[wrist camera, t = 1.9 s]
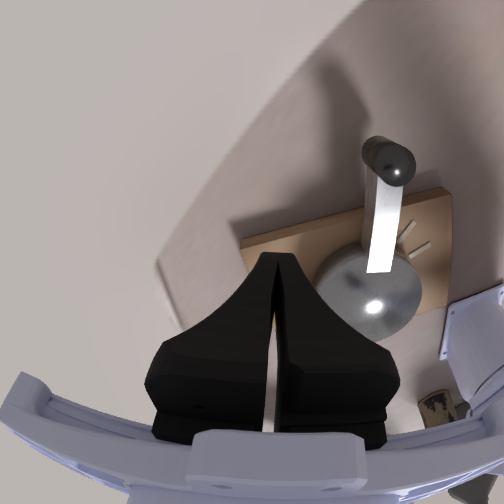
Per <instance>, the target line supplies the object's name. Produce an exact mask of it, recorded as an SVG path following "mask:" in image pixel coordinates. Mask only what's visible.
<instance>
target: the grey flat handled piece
mask: <svg viewBox="0 0 504 504" xmlns="http://www.w3.org/2000/svg"><path fill="white" fill-rule="evenodd" d="M362 159H363V161H364V163H365V164H366V165H367V171H366V189H365V203H364V215H363V226H362V235H361V240H359V241H355V242H352V243H349V244H347V245H345V246H342V247H341V248H339V249H337V250H336V251H335V252H333V253H332V254H331V255H329V256H328V257H327V258H326V259H325V260H324V262H323V263H322V264H321V265H320V267H319V269H318V270H317V272H316V274H315V277H314V280H313V287H314V288H315V290H316V291H317V292H318V294H319V295H320V296H321V297H322V299H323V300H324V301H325V302H326V303H327V304H328V306H329V307H330V308H331V309H332V310H333V311H334V312H335V313H336V314H337V315H338V316H339V317H341V318H342V319H343V320H344V321H345V322H346V323H348V324H349V325H350V326H351V327H353V328H354V329H355V330H356V331H358V332H359V333H361V334H362V335H364V336H365V337H366V338H368V339H369V340H371V341H373V342H377V341H380V340H383V339H385V338H387V337H389V336H391V335H393V334H395V333H396V332H398V331H399V330H400V329H402V328H403V327H404V326H405V325H406V324H407V323H408V322H409V321H410V320H411V319H412V317H413V316H414V315H415V313H416V311H417V309H418V307H419V305H420V302H421V298H422V284H421V281H420V278H419V276H418V274H417V273H416V271H415V269H414V268H413V266H412V265H411V263H410V261H409V260H408V258H407V257H406V255H405V254H404V252H403V251H402V250H401V249H400V248H398V247H397V246H396V245H395V241H396V235H397V229H398V223H399V216H400V209H401V201H402V192H403V186H404V185H406V184H407V183H408V182H410V180H411V179H412V178H413V176H414V174H415V171H416V161H415V158H414V156H413V154H412V153H411V152H410V151H409V150H408V149H407V148H405V147H403V146H401V145H399V144H397V143H395V142H393V141H391V140H389V139H387V138H385V137H383V136H373V137H371V138H369V139H368V140H367V141H366V142H365V143H364V145H363V147H362Z"/></svg>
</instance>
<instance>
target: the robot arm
mask: <svg viewBox="0 0 504 504" xmlns="http://www.w3.org/2000/svg"><path fill="white" fill-rule="evenodd" d="M503 297H504V284H501V285H499V286H496V287H494V288H492V289H489V290H487V291H484V292H482V293H479V294H477V295H474V296H472V297H469V298H467V299H464V300H461V301H459V302H456V303H453V304H451V305H450V306H449V308H448V313H447V320H446V326H445V331H444V336H443V341H442V346H441V351H440V355H439V359H440V360H444V359H447V360H448V362H449V365H450V367H451V370H452V372H453V375H454V378H455V380H456V383H457V386H458V388H459V391H460V394H461V396H462V397H463V398H464V399H465V400H466V401H467V402H468V403H470V406H471V408H470V409H469V410H468V412H467V414H466V418H465V419H462V420H458V421H455V422H451V423H448V424H444V425H440V426H436V427H432V428H427V429H423V430H418V431H413V432H408V433H402V434H397V435H390V436H386V430H385V424H384V421H386V419H387V413H386V406H387V405H388V404H389V402H390V401H391V399H392V398H393V397H394V395H395V394H396V392H397V391H398V389H399V387H400V377H399V373H398V370H397V367H396V364H395V362H394V360H393V358H392V355H391V353H390V351H388V350H387V349H385V348H383V347H381V346H380V345H378V344H376V343H375V342H373V341H371V340H369V339H368V338H366V337H365V336H364V335H362V334H361V333H359V332H358V331H356V330H355V329H354V328H353V327H351V326H350V325H349V324H348V323H346V322H345V321H344V320H343V319H342V318H341V317H339V316H338V315H337V314H336V313H335V312H334V311H333V310H332V309H331V308H330V307H329V306H328V304H327V303H326V302H325V301H324V300H323V299H322V297H321V296H320V295H319V294H318V292H317V291H316V290H315V288H314V287H313V286H312V284H311V283H310V281H309V280H308V278H307V276H306V275H305V273H304V272H303V270H302V268H301V266H300V265H299V263H298V261H297V259H296V256H295V255H294V254H293V253H282V252H262V253H261V254H260V256H259V258H258V260H257V262H256V264H255V265H254V267H253V269H252V270H251V272H250V273H249V275H248V276H247V278H246V279H245V280H244V282H243V283H242V284H241V285H240V286H239V288H238V289H237V290H236V291H235V292H234V293H233V294H232V296H231V297H230V298H229V299H228V300H227V301H226V302H225V303H223V304H222V305H221V306H220V307H219V308H218V309H217V310H215V311H214V312H213V313H212V314H211V315H209V316H208V317H207V318H205V319H204V320H202V321H201V322H199V323H198V324H196V325H195V326H193V327H192V328H190V329H188V330H187V331H185V332H183V333H181V334H179V335H177V336H175V337H173V338H171V339H169V340H166V341H164V342H163V343H162V345H161V346H160V348H159V350H158V351H157V353H156V355H155V357H154V359H153V361H152V363H151V366H150V368H149V371H148V373H147V376H146V379H145V383H144V385H145V388H146V391H147V392H148V395H149V397H150V398H151V400H152V402H153V404H154V406H155V407H156V409H157V413H156V416H155V420H154V423H153V426H150V425H146V424H142V423H138V422H134V421H130V420H127V419H123V418H120V417H116V416H113V415H110V414H107V413H103V412H100V411H97V410H94V409H91V408H88V407H86V406H83V405H80V404H78V403H75V402H72V401H70V400H67V399H65V398H62V397H60V396H57V395H55V394H53V393H52V392H51V390H50V389H49V388H48V386H47V385H46V384H44V383H43V382H42V381H41V380H39V379H37V378H35V377H33V376H31V375H29V374H26V373H24V372H20V374H19V376H18V377H17V379H16V381H15V382H14V384H13V386H12V388H11V390H10V391H9V393H8V395H7V397H6V399H5V400H4V402H3V404H2V406H1V408H0V422H1V423H2V424H3V425H4V426H5V427H7V428H8V429H9V430H10V431H11V432H12V433H14V434H15V435H16V436H17V437H19V438H20V439H21V440H22V441H24V442H25V443H26V444H27V445H29V446H30V447H32V448H33V449H35V450H37V451H38V452H40V453H42V454H43V455H45V456H47V457H49V458H50V459H52V460H54V461H56V462H58V463H60V464H61V465H63V466H65V467H67V468H69V469H71V470H73V471H75V472H77V473H80V474H81V475H83V476H86V477H88V478H90V479H92V480H94V481H96V482H99V483H101V484H104V485H106V486H108V487H111V488H113V489H116V490H119V491H121V492H124V493H127V494H129V498H128V501H127V504H406V503H409V502H413V501H416V500H419V499H422V498H425V497H428V496H431V495H434V494H437V493H439V492H442V491H444V490H447V489H450V488H452V487H455V486H457V485H459V484H462V483H464V482H466V481H469V480H471V479H473V478H475V477H477V476H480V475H482V474H484V473H487V474H494V475H502V476H504V310H503V309H502V307H501V304H502V300H503ZM274 312H275V326H276V340H277V356H278V368H277V388H276V406H275V421H274V433H273V432H262V428H263V418H264V407H265V396H266V384H267V368H268V350H269V344H270V338H271V332H272V325H273V319H274Z"/></svg>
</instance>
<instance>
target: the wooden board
mask: <svg viewBox="0 0 504 504" xmlns="http://www.w3.org/2000/svg"><path fill="white" fill-rule="evenodd" d="M363 215H364V207H361V208H357V209H353V210H349V211H346V212H342V213H338V214H334V215H330V216H327V217H323V218H319V219H315V220H312V221H308V222H304V223H300V224H297V225H293V226H289V227H286V228H282V229H278V230H275V231H271V232H267V233H264V234H260V235H256V236H253V237H249V238H246V239H242V242H241V246H240V252H241V254H242V257H243V259H244V261H245V263H246V266H247V268H248V270H249V273H250V272H251V270H252V269H253V267H254V265H255V264H256V262H257V260H258V258H259V256H260V254H261V253H262V252H282V253H293V254H294V255H295V256H296V259H297V261H298V263H299V265H300V266H301V268H302V270H303V272H304V273H305V275H306V276H307V278H308V280H309V281H310V283H311V284H312V286H313V280H314V277H315V274H316V272H317V270H318V269H319V267H320V265H321V264H322V263H323V262H324V260H325V259H326V258H327V257H328V256H329V255H331V254H332V253H333V252H335V251H336V250H337V249H339V248H341V247H342V246H345V245H347V244H349V243H352V242H355V241H359V240H361V235H362V226H363ZM395 245H396V246H397V247H398V248H400V249H401V250H402V251H403V252H404V254H405V255H406V257H407V258H408V260H409V261H410V263H411V265H412V266H413V268H414V269H415V271H416V273H417V274H418V276H419V278H420V281H421V284H422V298H421V302H420V305H419V307H418V309H417V311H416V313H415V315H414V316H417V315H420V314H423V313H426V312H429V311H432V310H435V309H438V308H441V307H444V306H447V299H448V291H449V281H450V269H451V252H452V195H451V193H449V192H448V191H447V190H445V189H444V188H443V187H440V188H436V189H432V190H428V191H424V192H420V193H416V194H412V195H408V196H404V197H402V201H401V209H400V216H399V223H398V229H397V235H396V241H395ZM414 316H413V317H414ZM273 327H274V330H275V332H276V326H275V312H274V319H273Z"/></svg>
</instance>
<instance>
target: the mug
mask: <svg viewBox="0 0 504 504" xmlns="http://www.w3.org/2000/svg"><path fill="white" fill-rule="evenodd" d="M418 408H419V411H420V414H421V416H422V419H423V422H424V426H425V429H427V428H432V427H436V426H440V425H444V424H448V423H451V422H455V421H458V417H457V414H456V411H455V407H454V404H453V402H452V399H451V397H450V394H449V391H448V390H445V389H444V390H439V391H436V392H433V393H431V394H429V395H428V396H426V397H424V398H423V399H422V400H421V401H420V402H419V403H418Z"/></svg>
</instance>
